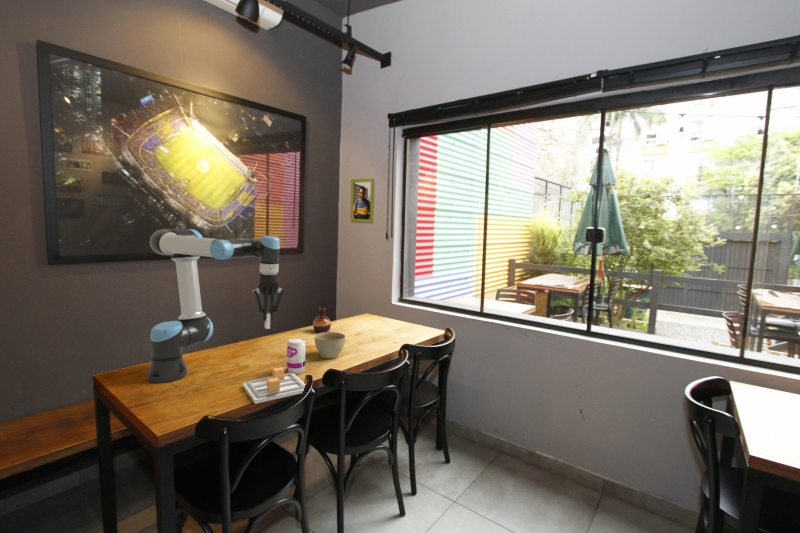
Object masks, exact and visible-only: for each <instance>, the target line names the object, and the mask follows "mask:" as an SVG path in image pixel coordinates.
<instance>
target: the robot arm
mask: <svg viewBox="0 0 800 533" xmlns="http://www.w3.org/2000/svg"><path fill="white" fill-rule="evenodd" d="M149 246H150V248H151V249H152V251H153V252H154V253H156V254H158V255H162V256H170V257H171V258H170V259H171V260H172V261H173V262H175V268H176V275H177V287H178V295H179V296H178V297H179V303H180V304H179V305H180V312H181V314H180V315H179V316H178V317H177V320H170V321H164V322H160V323H158V324H156V325H154V326H153V327H152V328H151V330H150V348H151V349H150V352H151V355H150V356H151V361H150V365H149V367H148V370H147V374H146V380H147V382H150V383H154V384H156V383H157V384H161V383H171V382H175V381H178V380H181V379H183V378H184V377H186V376H187V374H188V367H187V365H186V362H185V359H184V357H183V349H186V348H189V347H192V346H195V345H201V344H203V343H205V342H207V341H208V340H209V339H210V338H211V337H212V335H213V333H214V325H213V322H212V320H211V319H210V318H209V317H207V314H206V313H205V312H204V311H203V307H202V299H201V298H202V296H201V289H200V288H201V287H200V281H199V280H200V278H199V277H200V276H199V270H198V261H199V259H200V258H201V257H209V258H214V259H215V260H223V261H224V260H230V259H240V258H241V259H242V258H244V259H245V258H258V259H259V275H258V276H259V277H258V278H259V281H258V283H259V284H258V286H257V288H255V289H252V294H253V295H254V297H255V302H256V303H255V304H256V306H257V307H256V308H257V310H258V312H259V313H261V314H262V321H263V322H264V328H265V329H266V330H270V329H271V321H273V315H274V313H275V312H278V310H279V306H280V302H281V299H282V296H283V294H284V292H285V289H284V288H281V287H280V285H279V270H280V269H279V268H280V261H279V260H280V249H281V247H280V238H279V237H278V236H273V235H271V236H270V235H264V236H263V235H262V236H261V237H260V239H255V238H254V239H253V238H247V237H246V238H244V237H243V238H239V239H222V238H209V237H203V236H202V234H201V233H200V232H199V231H197V230H196V229H192V228H162V229H159V230H156V231H155V232H154V233H152V234H151V236H150V239H149ZM260 293H261V294H262V302H261V297H260ZM275 294H276V297H275ZM274 299H275V300H274Z"/></svg>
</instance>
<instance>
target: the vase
mask: <svg viewBox="0 0 800 533" xmlns="http://www.w3.org/2000/svg"><path fill="white" fill-rule="evenodd" d="M326 310H327V309H326V307H319V308H318V312H319V315H318V316H317V317H316V318H315V319H314V320H313V323H312V326H313V331H314V332H315V333H316V334H319V333H323V332H330V329H331V326H332V324H331V320H330V318H329V317H328V316H326Z"/></svg>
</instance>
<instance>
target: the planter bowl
mask: <svg viewBox="0 0 800 533" xmlns="http://www.w3.org/2000/svg"><path fill="white" fill-rule="evenodd" d="M345 341H346V334H344V333H341V332H335V331H328V332H323V333H316V334H315V335H314V344H315V348H316V350H317V352H318V353H319V354H320V355H319V356H320V357H321V358H323V359H335V358H338V357H339V354H340V353H341V352H342V350H343V348H344V346H345Z"/></svg>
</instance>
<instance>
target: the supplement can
mask: <svg viewBox="0 0 800 533" xmlns="http://www.w3.org/2000/svg"><path fill="white" fill-rule="evenodd" d="M286 344H287V345H286V347H287V348H286V349H287V350H286V372H287V373H292V374H293V373H294V374H295V375H301V374H303V373H304V372H305V371H306V341H305V339H304V338H290V339H289V340H288V341H287V343H286Z"/></svg>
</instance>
